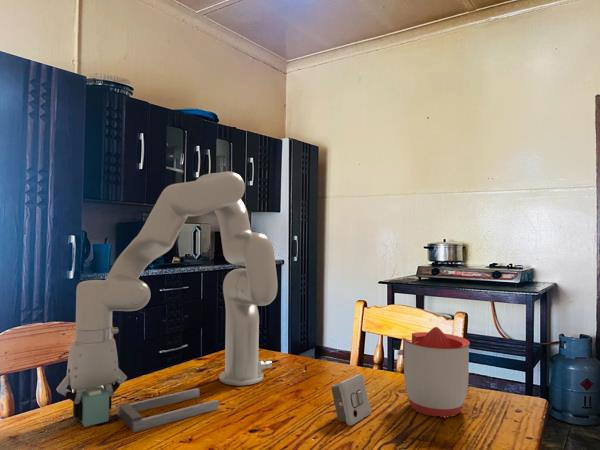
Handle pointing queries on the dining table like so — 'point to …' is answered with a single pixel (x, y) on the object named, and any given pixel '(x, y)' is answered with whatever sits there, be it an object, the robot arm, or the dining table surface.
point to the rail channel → (137, 423)
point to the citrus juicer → (436, 372)
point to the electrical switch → (351, 400)
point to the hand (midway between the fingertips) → (92, 415)
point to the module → (95, 406)
